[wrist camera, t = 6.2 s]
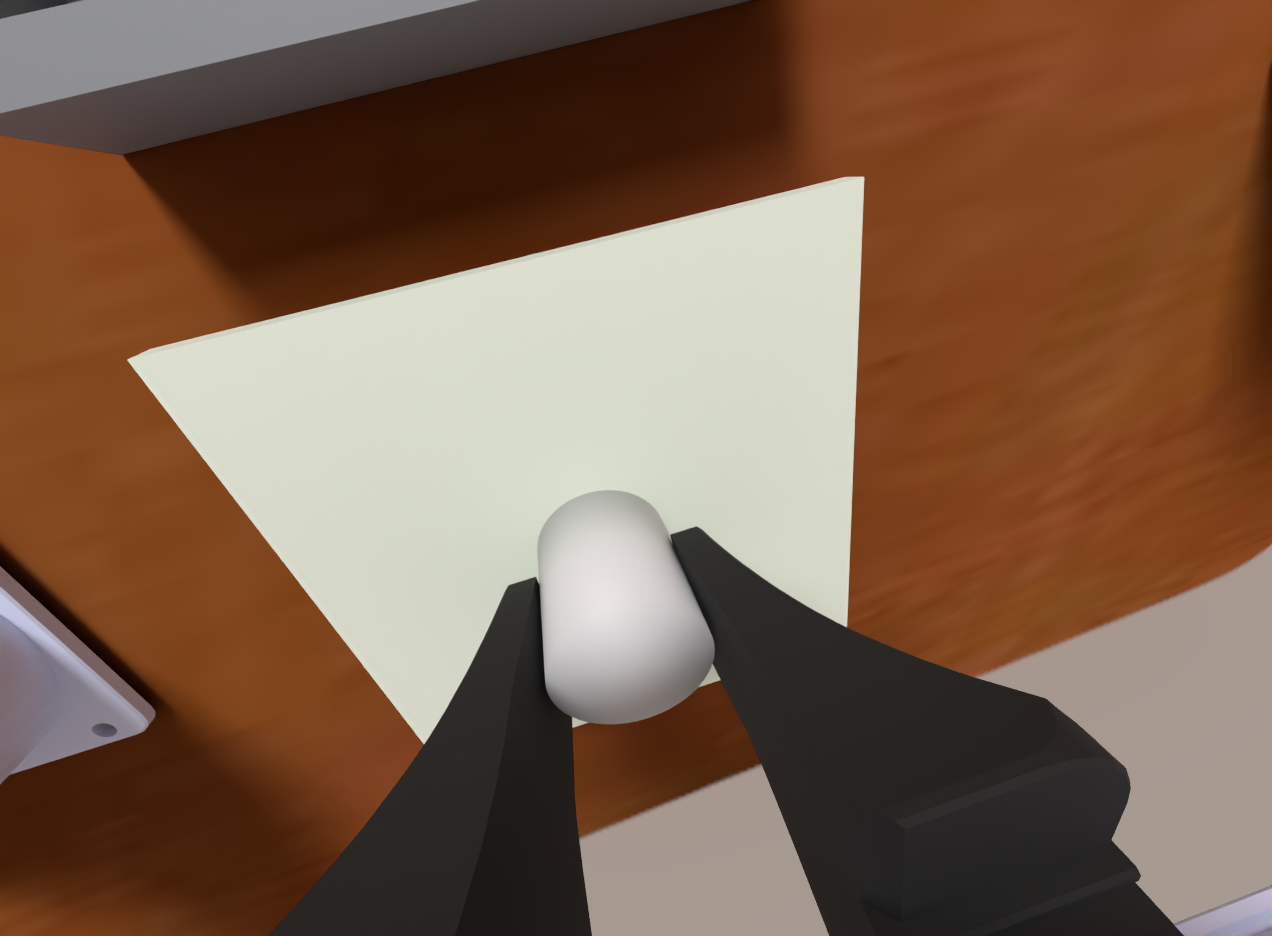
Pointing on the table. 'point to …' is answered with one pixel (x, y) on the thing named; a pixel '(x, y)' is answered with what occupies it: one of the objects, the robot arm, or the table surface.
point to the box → (260, 57)
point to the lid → (552, 446)
